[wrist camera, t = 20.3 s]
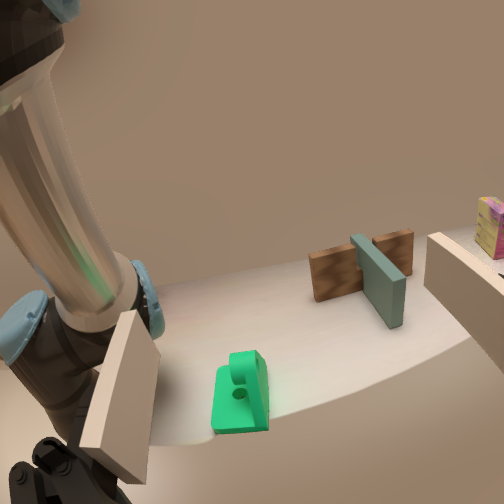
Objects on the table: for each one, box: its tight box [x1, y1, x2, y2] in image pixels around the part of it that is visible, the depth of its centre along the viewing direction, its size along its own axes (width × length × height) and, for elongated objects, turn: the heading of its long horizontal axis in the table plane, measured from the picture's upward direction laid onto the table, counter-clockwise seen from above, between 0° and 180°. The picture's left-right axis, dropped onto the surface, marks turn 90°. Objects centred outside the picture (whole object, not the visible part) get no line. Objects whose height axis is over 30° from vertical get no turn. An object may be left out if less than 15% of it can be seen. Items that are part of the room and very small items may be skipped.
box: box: [475, 197, 504, 260], centre depth 56 cm, size 10×6×12 cm, turn 172°
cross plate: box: [350, 233, 406, 329], centre depth 53 cm, size 2×18×10 cm, turn 6°
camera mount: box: [211, 350, 269, 434], centre depth 39 cm, size 12×8×10 cm, turn 179°
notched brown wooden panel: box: [308, 228, 414, 302], centre depth 58 cm, size 22×2×10 cm, turn 96°
